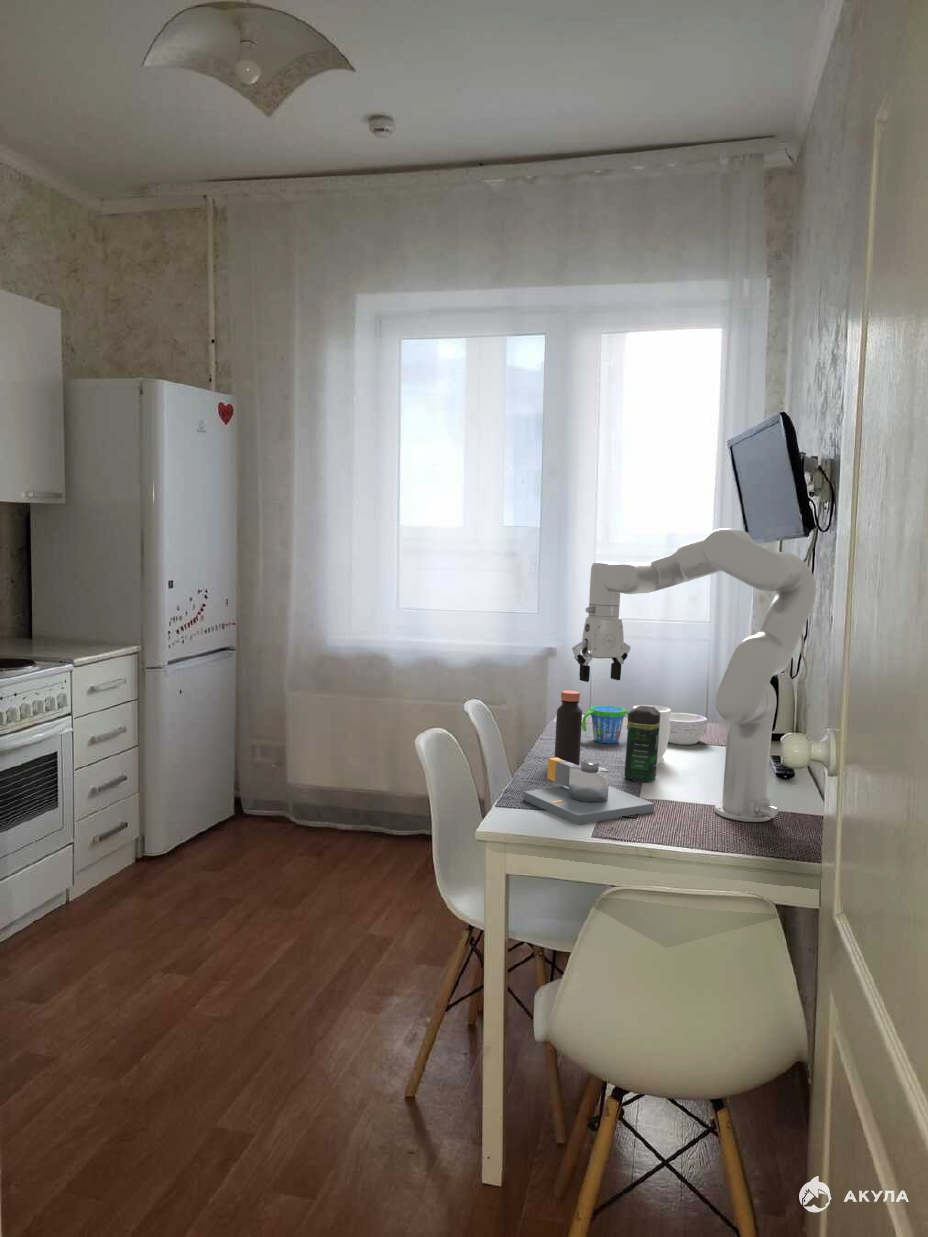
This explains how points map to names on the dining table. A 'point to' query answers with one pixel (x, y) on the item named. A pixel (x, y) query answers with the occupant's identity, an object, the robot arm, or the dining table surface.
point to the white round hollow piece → (686, 728)
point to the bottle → (568, 728)
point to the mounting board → (587, 805)
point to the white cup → (662, 730)
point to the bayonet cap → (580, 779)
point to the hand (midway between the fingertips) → (599, 680)
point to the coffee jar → (642, 744)
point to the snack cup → (606, 722)
